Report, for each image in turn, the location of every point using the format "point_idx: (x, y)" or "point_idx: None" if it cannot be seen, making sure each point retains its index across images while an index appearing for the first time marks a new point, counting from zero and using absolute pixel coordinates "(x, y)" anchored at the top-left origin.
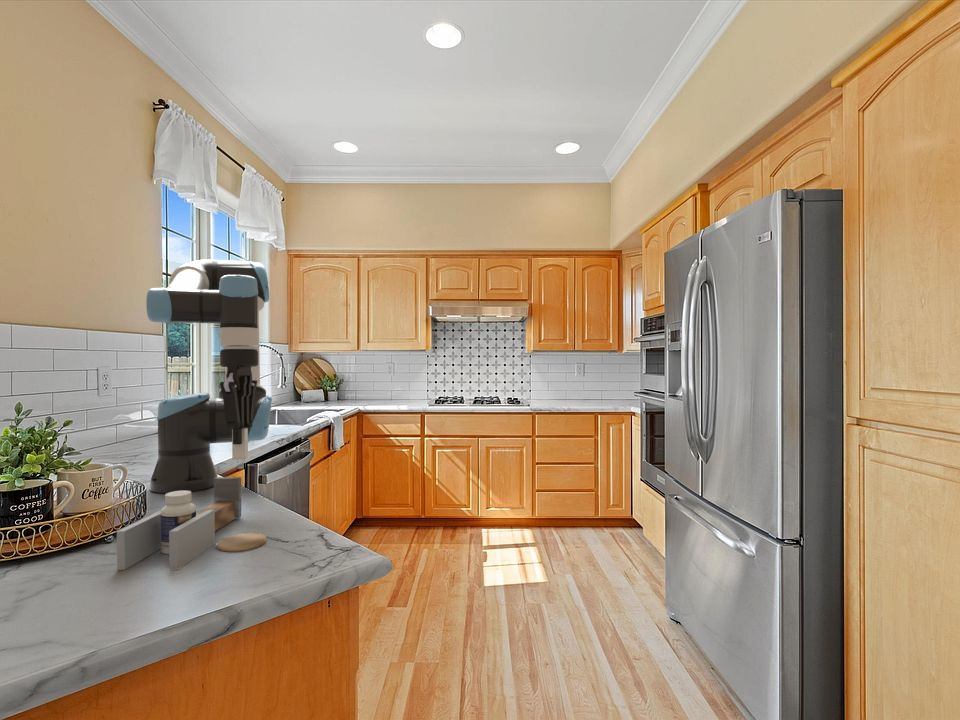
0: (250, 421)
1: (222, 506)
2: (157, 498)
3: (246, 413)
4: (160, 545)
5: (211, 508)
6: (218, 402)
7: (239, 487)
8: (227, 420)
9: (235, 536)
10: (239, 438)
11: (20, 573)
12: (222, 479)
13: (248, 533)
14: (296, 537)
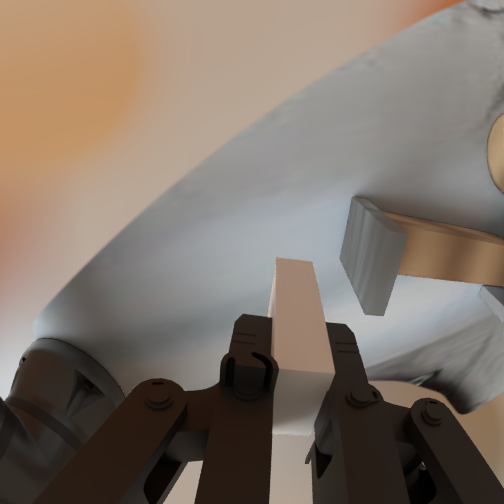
0: (184, 399)
1: (431, 238)
2: None
3: (266, 492)
4: (500, 289)
5: (441, 260)
6: None
7: (388, 222)
8: (427, 479)
9: (502, 171)
10: (356, 348)
11: (499, 389)
12: (390, 288)
13: (492, 148)
14: (496, 55)
